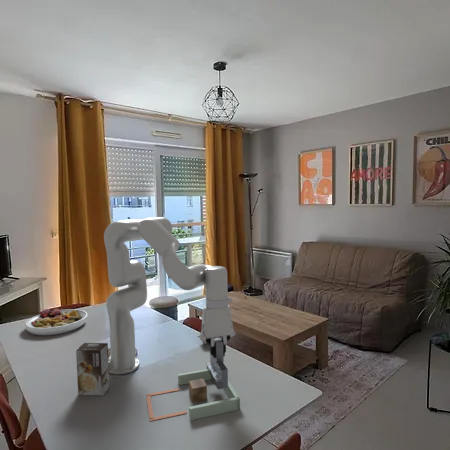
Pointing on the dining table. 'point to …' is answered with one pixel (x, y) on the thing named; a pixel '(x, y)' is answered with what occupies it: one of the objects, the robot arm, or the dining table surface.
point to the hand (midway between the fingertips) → (218, 355)
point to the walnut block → (197, 390)
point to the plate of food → (56, 321)
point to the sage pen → (211, 407)
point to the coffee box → (92, 368)
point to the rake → (218, 366)
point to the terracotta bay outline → (152, 410)
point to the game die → (203, 341)
